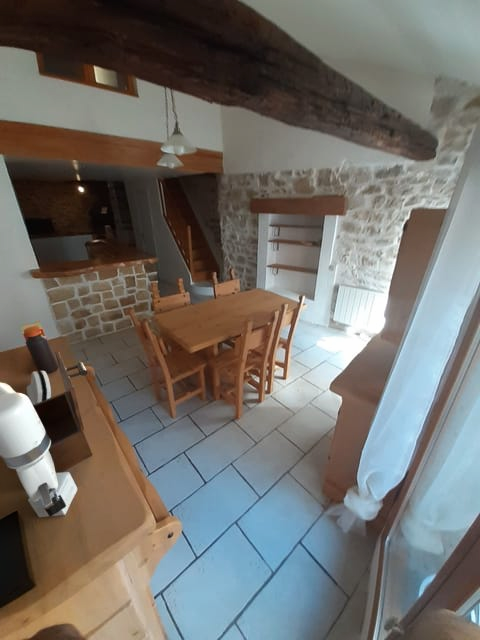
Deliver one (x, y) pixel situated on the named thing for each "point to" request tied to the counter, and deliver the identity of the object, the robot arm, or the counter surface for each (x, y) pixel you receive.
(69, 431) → the chest
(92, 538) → the counter surface
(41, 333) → the baking soda box
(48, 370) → the bottle
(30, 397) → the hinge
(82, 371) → the lid
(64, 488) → the product box
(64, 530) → the counter surface
